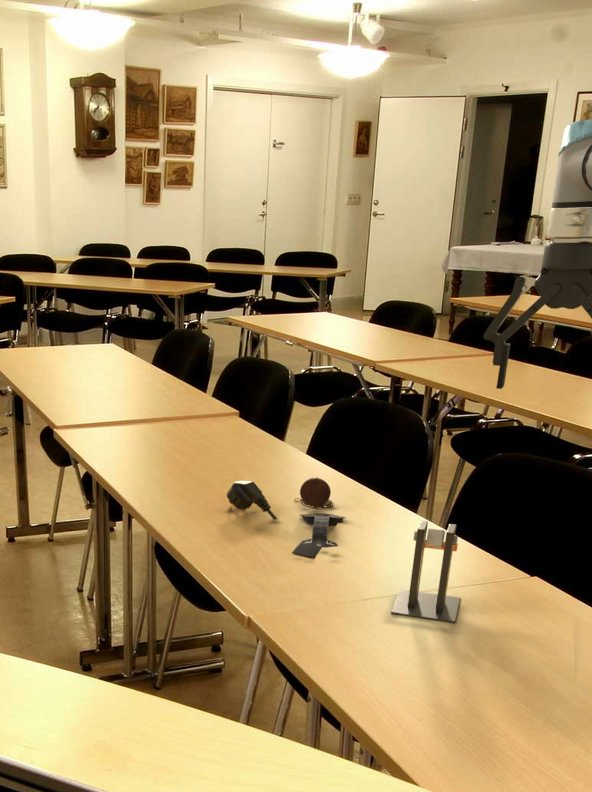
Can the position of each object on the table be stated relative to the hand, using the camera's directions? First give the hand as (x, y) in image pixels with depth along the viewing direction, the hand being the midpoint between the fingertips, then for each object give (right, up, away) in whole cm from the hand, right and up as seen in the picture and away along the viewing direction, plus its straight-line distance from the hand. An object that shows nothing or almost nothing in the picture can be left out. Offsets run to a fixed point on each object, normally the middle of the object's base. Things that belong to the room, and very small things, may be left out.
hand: (548, 390), depth 138 cm
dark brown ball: (-21, -13, +54) cm, 60 cm away
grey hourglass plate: (-25, -20, +35) cm, 48 cm away
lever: (-16, -24, +2) cm, 29 cm away
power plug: (-35, -15, +50) cm, 63 cm away
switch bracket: (-18, -34, +2) cm, 38 cm away
